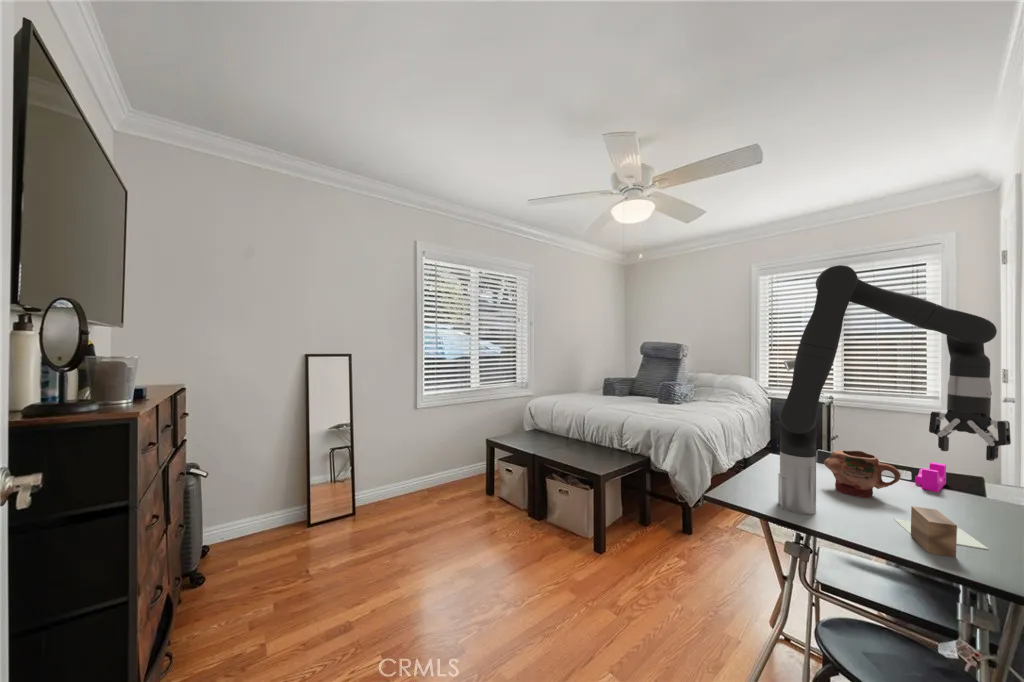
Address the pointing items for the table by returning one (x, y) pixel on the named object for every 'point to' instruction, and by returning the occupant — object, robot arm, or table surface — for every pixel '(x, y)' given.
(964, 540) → the mat
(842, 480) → the decorative planter
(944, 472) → the toy block
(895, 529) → the table surface
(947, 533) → the walnut block
